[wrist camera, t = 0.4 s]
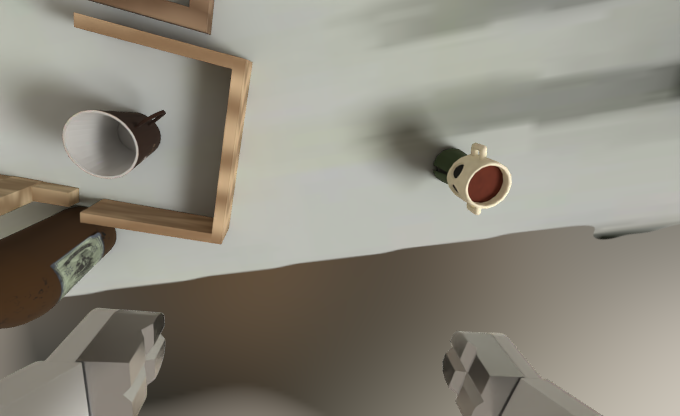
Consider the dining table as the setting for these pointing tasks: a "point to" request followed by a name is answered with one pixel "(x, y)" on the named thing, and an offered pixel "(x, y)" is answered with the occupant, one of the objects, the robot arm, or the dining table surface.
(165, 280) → the dining table surface
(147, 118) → the coffee mug
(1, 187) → the tan blocky wooden part
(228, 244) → the dining table surface
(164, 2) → the brown rectangular open frame
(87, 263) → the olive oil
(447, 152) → the character mug
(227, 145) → the frame
